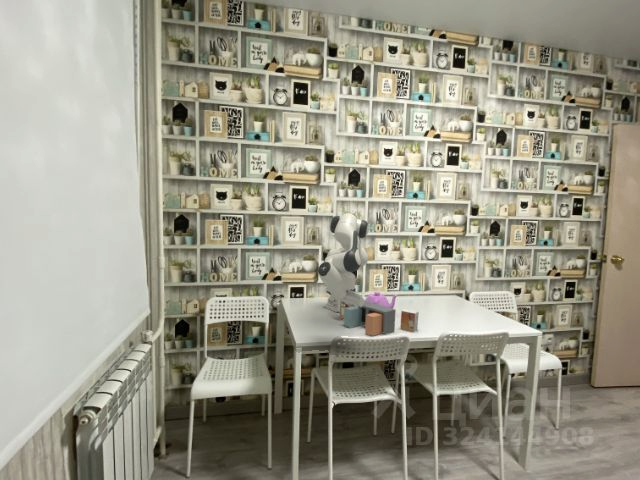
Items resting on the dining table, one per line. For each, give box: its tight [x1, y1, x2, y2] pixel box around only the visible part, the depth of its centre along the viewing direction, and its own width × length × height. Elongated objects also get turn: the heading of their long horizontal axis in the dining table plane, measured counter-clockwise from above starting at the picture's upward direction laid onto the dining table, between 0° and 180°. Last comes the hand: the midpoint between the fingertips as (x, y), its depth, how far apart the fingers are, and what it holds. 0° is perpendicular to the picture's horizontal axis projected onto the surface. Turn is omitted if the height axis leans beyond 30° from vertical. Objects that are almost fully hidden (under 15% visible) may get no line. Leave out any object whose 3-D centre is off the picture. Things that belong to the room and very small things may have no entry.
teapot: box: [364, 291, 399, 309], centre depth 251 cm, size 22×22×14 cm
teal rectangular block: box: [343, 306, 363, 329], centre depth 226 cm, size 9×5×10 cm, turn 132°
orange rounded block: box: [364, 312, 384, 337], centre depth 214 cm, size 9×5×10 cm, turn 132°
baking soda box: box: [339, 301, 351, 321], centre depth 239 cm, size 10×6×16 cm
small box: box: [399, 308, 420, 333], centre depth 223 cm, size 8×6×10 cm
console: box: [352, 301, 397, 335], centre depth 225 cm, size 8×25×12 cm, turn 42°
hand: (353, 306), depth 202 cm, fingers open, 3 cm apart
